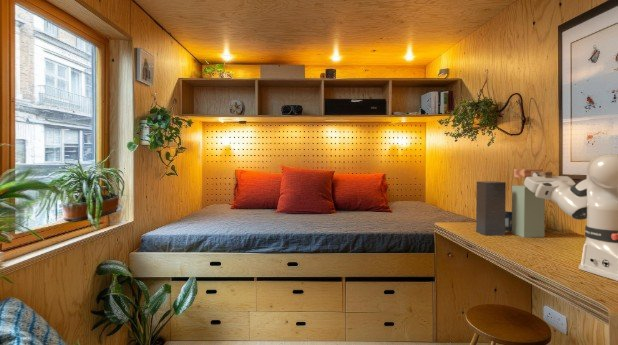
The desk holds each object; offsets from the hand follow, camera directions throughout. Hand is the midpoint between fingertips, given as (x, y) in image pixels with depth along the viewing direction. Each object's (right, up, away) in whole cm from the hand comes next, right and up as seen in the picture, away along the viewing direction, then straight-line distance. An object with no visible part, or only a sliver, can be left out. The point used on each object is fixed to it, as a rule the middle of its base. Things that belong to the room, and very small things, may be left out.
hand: (539, 173), depth 164 cm
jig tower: (-16, -30, +13) cm, 37 cm away
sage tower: (0, -30, +9) cm, 31 cm away
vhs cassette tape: (-6, -30, +22) cm, 38 cm away
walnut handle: (0, -2, +4) cm, 4 cm away
